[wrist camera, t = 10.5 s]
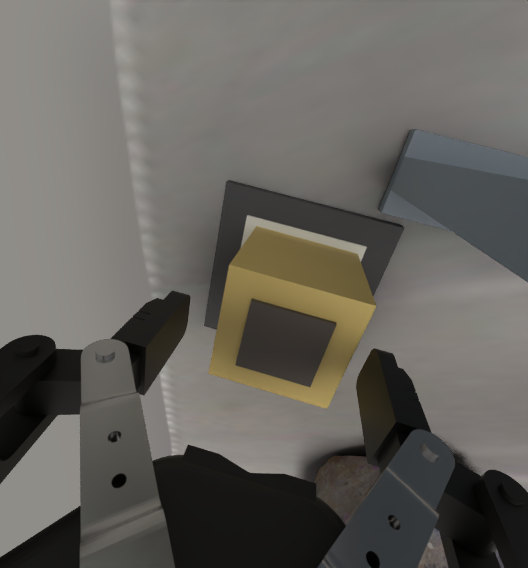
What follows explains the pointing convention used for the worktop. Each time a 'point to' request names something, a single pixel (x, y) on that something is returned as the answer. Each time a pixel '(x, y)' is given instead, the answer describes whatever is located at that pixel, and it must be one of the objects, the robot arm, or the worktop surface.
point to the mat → (295, 233)
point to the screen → (464, 194)
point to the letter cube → (291, 316)
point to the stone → (352, 488)
